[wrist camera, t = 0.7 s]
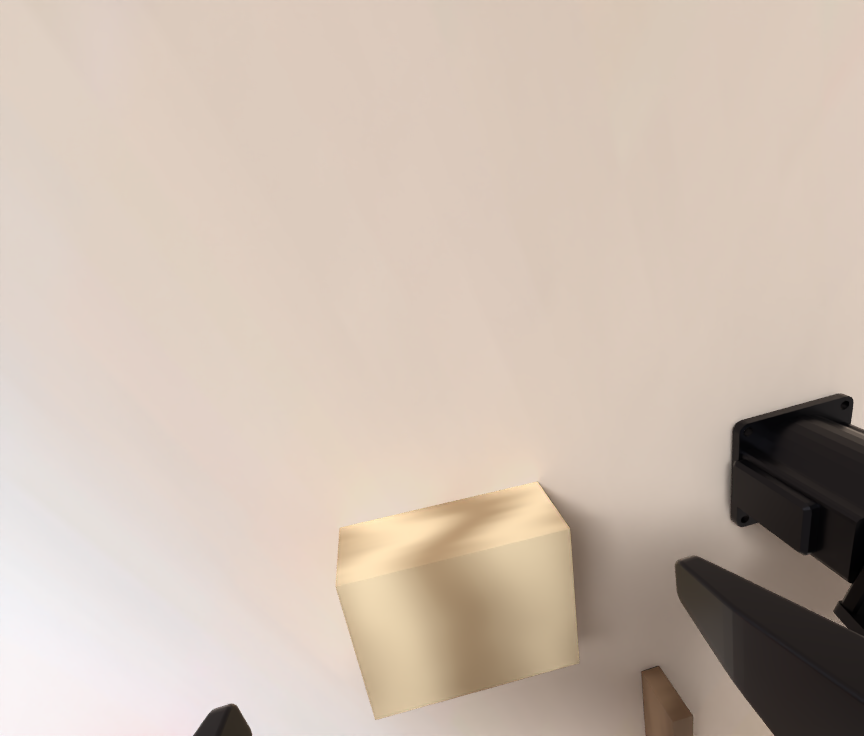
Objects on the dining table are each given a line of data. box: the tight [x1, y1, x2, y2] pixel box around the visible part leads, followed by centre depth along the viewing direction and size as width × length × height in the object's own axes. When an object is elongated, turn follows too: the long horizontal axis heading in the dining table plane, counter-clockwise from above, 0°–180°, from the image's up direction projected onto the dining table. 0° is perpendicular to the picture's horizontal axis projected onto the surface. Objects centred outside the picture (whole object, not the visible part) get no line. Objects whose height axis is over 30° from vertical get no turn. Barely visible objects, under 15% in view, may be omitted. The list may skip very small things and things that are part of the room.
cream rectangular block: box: [336, 482, 579, 720], centre depth 21 cm, size 10×8×4 cm
